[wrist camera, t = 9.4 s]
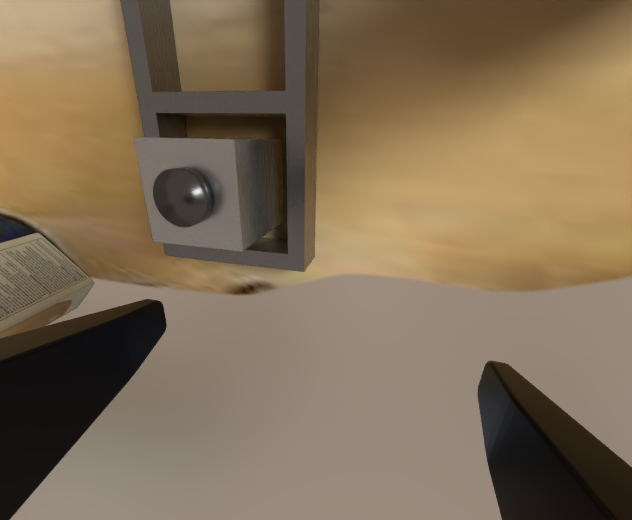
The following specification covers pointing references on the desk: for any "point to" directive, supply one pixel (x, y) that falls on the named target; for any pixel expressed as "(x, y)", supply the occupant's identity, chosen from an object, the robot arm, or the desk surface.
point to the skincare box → (37, 284)
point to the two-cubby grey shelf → (295, 103)
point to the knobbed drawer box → (211, 189)
